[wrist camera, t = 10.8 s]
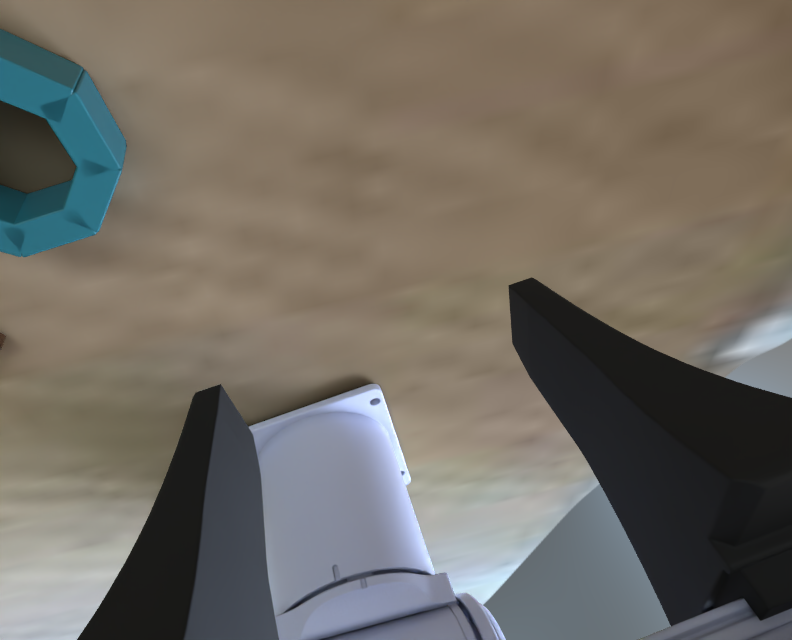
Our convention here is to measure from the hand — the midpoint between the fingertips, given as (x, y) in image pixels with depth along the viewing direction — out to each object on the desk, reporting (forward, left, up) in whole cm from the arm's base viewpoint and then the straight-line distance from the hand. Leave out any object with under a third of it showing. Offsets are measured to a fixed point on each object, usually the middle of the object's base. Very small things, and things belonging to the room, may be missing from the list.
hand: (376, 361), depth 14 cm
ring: (+5, +8, -9) cm, 13 cm away
